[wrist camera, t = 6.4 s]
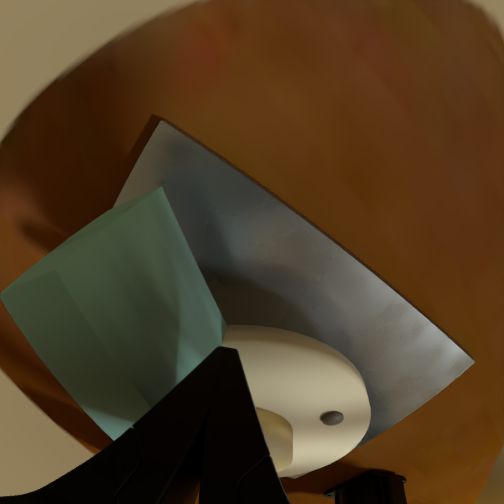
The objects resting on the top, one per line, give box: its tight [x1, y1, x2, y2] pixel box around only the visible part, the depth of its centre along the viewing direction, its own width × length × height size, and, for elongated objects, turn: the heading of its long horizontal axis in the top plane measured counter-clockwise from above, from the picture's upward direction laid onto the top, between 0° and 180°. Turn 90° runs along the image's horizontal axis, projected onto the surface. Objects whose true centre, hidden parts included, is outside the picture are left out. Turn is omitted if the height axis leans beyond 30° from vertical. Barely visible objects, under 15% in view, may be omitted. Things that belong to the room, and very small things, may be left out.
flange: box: [0, 186, 371, 477], centre depth 11 cm, size 18×12×6 cm
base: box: [113, 120, 475, 479], centre depth 15 cm, size 18×22×6 cm
